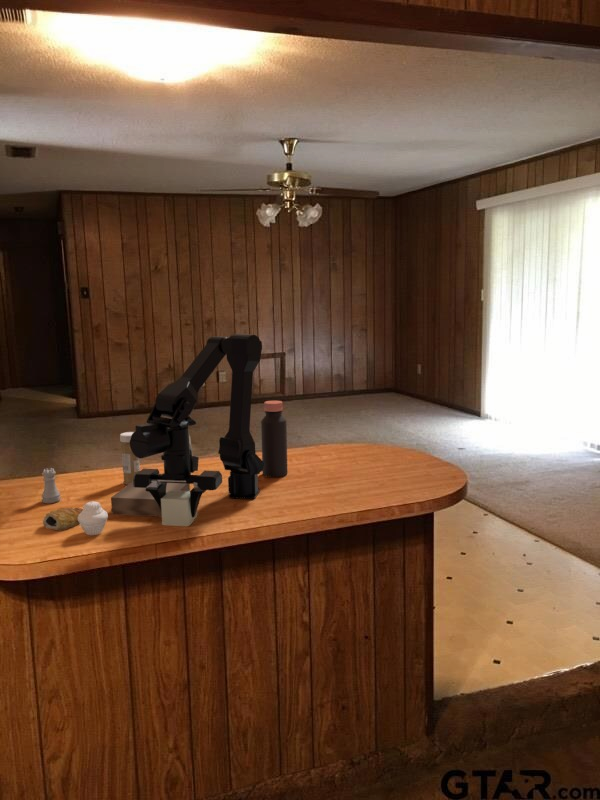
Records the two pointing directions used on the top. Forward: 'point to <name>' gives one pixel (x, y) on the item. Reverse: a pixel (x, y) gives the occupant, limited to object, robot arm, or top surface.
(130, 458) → the sprinkles bottle
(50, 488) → the rook chess piece
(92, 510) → the muffin
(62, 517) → the pastry
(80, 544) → the top surface
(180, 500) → the sage cube
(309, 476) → the top surface
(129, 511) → the walnut base
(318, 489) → the top surface
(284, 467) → the vinegar
